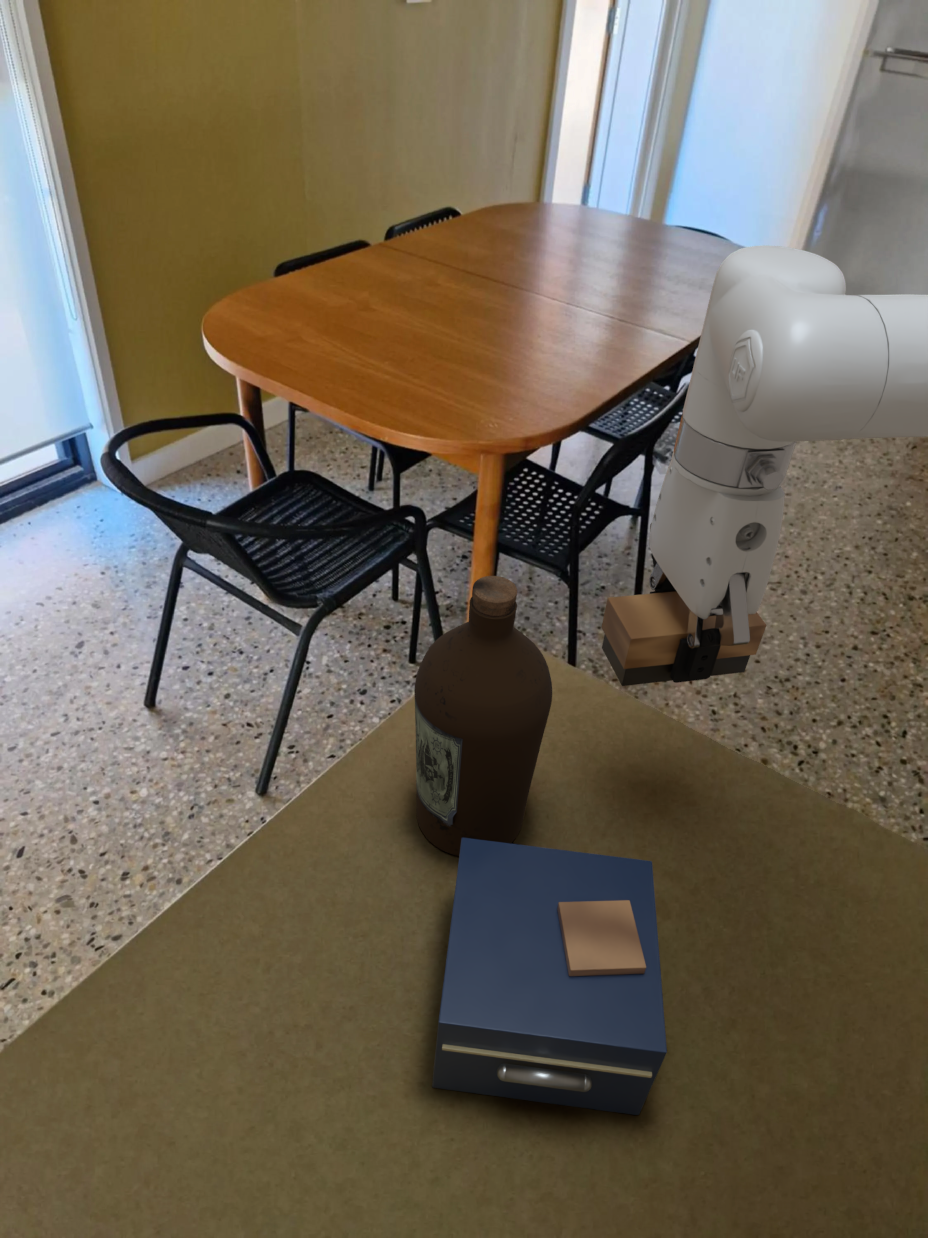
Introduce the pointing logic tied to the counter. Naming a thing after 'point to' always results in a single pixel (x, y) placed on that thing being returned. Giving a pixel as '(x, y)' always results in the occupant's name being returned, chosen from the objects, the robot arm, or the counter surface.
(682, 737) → the counter surface
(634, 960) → the coaster
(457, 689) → the olive oil
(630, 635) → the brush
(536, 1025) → the blue drawer box
